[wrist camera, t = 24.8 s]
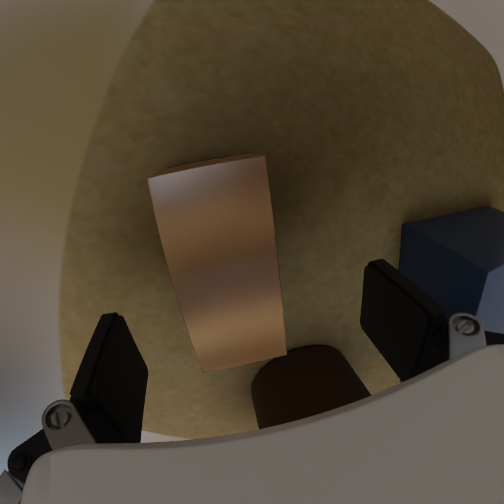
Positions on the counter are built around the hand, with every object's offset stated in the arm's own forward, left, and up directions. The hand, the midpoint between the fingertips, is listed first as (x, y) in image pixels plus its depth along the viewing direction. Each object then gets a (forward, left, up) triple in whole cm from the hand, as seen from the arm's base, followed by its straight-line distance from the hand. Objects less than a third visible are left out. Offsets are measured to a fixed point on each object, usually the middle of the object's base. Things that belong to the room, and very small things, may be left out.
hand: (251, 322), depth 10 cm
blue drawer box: (-21, +8, -8) cm, 24 cm away
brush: (+1, 0, -8) cm, 8 cm away
